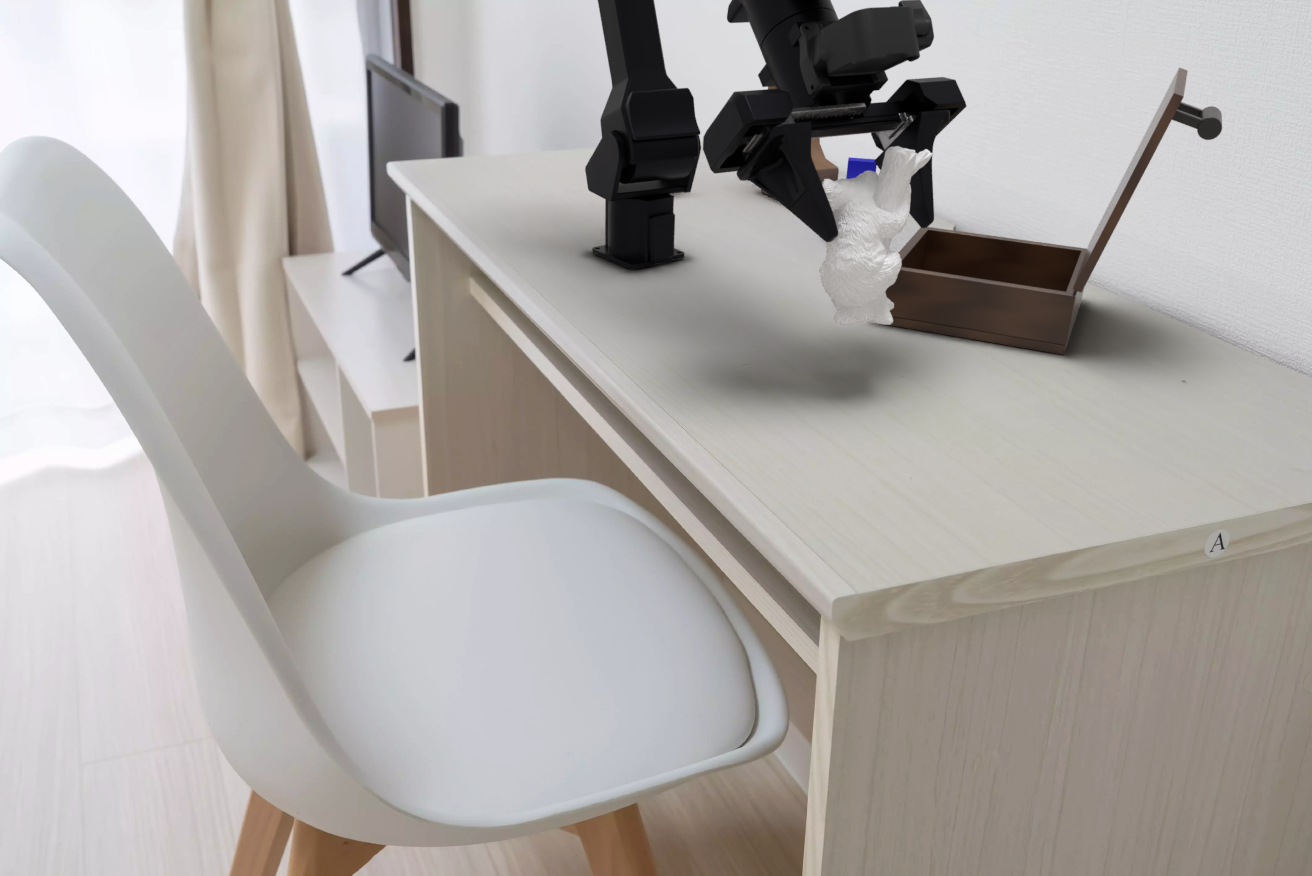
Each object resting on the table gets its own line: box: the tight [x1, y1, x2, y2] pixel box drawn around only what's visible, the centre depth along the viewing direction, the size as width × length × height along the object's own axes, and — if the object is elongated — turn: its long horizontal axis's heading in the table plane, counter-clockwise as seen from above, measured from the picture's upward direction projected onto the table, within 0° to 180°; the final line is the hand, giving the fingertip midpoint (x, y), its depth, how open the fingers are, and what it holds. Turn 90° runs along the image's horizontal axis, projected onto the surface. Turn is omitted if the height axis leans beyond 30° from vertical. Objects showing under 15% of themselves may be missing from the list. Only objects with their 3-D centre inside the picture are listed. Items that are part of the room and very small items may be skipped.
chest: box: [885, 226, 1087, 355], centre depth 94 cm, size 15×14×5 cm
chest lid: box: [1073, 67, 1223, 292], centre depth 86 cm, size 15×14×4 cm
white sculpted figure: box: [819, 146, 934, 326], centre depth 77 cm, size 8×7×12 cm
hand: (881, 231), depth 75 cm, fingers closed on white sculpted figure, 8 cm apart
